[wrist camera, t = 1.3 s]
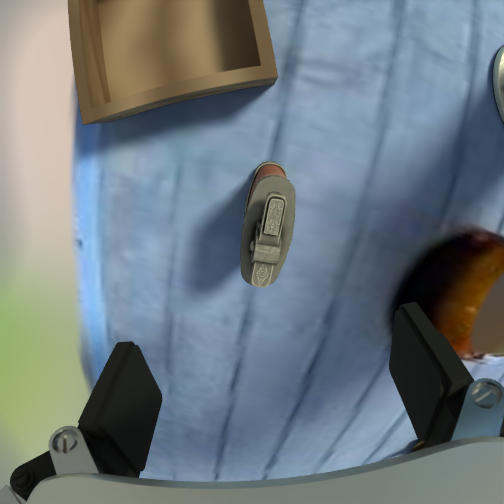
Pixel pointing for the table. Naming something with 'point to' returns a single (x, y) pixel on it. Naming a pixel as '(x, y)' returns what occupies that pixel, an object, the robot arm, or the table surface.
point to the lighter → (267, 225)
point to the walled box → (165, 52)
